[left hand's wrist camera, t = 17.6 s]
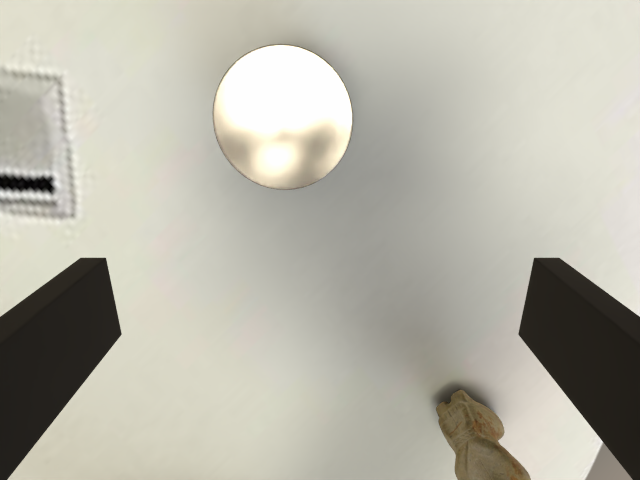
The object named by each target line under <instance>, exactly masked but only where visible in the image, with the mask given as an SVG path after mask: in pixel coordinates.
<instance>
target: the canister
mask: <svg viewBox="0 0 640 480" xmlns="http://www.w3.org/2000/svg"><path fill="white" fill-rule="evenodd" d="M213 124H214V131H215V134H216V138H217V141H218V143H219V146H220V148H221V150H222V152H223V153H224V155H225V157H226V158H227V159H228V161H229V162H230V163H231V165H232V166H233V167H234V168H235V169H236V170H237V171H238V172H239V173H241V174H242V175H243V176H244V177H246V178H248V179H249V180H251V181H253V182H255V183H257V184H259V185H262V186H265V187H268V188H273V189H280V190H290V189H298V188H303V187H306V186H309V185H311V184H313V183H315V182H317V181H319V180H321V179H322V178H324V177H325V176H327V175H328V174H329V173H330V172H331V171H332V170H333V169H334V168H335V167H336V166H337V165H338V163H339V162H340V160H341V159H342V157H343V156H344V154H345V152H346V150H347V148H348V145H349V142H350V139H351V134H352V128H353V110H352V104H351V100H350V97H349V93H348V91H347V89H346V86H345V84H344V82H343V81H342V79H341V78H340V76H339V74H338V73H337V72H336V71H335V70H334V68H333V67H332V66H331V65H330V64H329V63H328V62H327V61H325V60H324V59H323V58H321V57H320V56H319V55H317V54H315V53H313V52H311V51H309V50H307V49H304V48H302V47H298V46H294V45H287V44H275V45H267V46H263V47H260V48H257V49H255V50H252V51H250V52H248V53H247V54H245V55H243V56H242V57H241V58H239V59H238V60H237V61H236V62H235V63H234V64H233V65H232V66H231V67H230V68H229V69H228V71H227V72H226V73H225V75H224V76H223V78H222V80H221V82H220V84H219V86H218V89H217V91H216V95H215V99H214V104H213Z"/></svg>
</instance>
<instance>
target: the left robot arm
mask: <svg viewBox="0 0 640 480" xmlns="http://www.w3.org/2000/svg"><path fill="white" fill-rule="evenodd" d="M120 336H121V329H120V324H119V320H118V315H117V310H116V305H115V300H114V295H113V290H112V285H111V281H110V276H109V271H108V266H107V261H106V258H80V259H79V260H77V261H76V262H75V263H73V264H72V265H70V266H69V267H68V268H66V269H65V270H64V271H62V272H61V273H60V274H58V275H57V276H55V277H54V278H53V279H51V280H50V281H49V282H47V283H46V284H45V285H43V286H42V287H40V288H39V289H38V290H36V291H35V292H34V293H32V294H31V295H30V296H28V297H27V298H25V299H24V300H23V301H21V302H20V303H19V304H17V305H16V306H15V307H13V308H12V309H10V310H9V311H8V312H6V313H5V314H4V315H2V316H1V317H0V480H7V479H8V478H9V477H10V475H11V474H12V473H13V471H14V470H15V469H16V468H17V466H18V465H19V464H20V463H21V461H22V460H23V459H24V458H25V456H26V455H27V454H28V452H29V451H30V450H31V449H32V447H33V446H34V445H35V444H36V442H37V441H38V440H39V438H40V437H41V436H42V435H43V433H44V432H45V431H46V430H47V428H48V427H49V426H50V425H51V423H52V422H53V421H54V419H55V418H56V417H57V416H58V414H59V413H60V412H61V411H62V409H63V408H64V407H65V405H66V404H67V403H68V402H69V400H70V399H71V398H72V397H73V395H74V394H75V393H76V392H77V390H78V389H79V388H80V386H81V385H82V384H83V383H84V381H85V380H86V379H87V378H88V376H89V375H90V374H91V372H92V371H93V370H94V369H95V367H96V366H97V365H98V364H99V362H100V361H101V360H102V359H103V357H104V356H105V355H106V353H107V352H108V351H109V350H110V348H111V347H112V346H113V345H114V343H115V342H116V341H117V340H118V338H119V337H120ZM519 336H520V337H521V338H522V340H523V341H524V342H525V343H526V345H527V346H528V347H529V348H530V350H531V351H532V352H533V353H534V355H535V356H536V357H537V359H538V360H539V361H540V362H541V364H542V365H543V366H544V367H545V369H546V370H547V371H548V372H549V374H550V375H551V376H552V378H553V379H554V380H555V381H556V383H557V384H558V385H559V386H560V388H561V389H562V390H563V392H564V393H565V394H566V395H567V397H568V398H569V399H570V400H571V402H572V403H573V404H574V405H575V407H576V408H577V409H578V411H579V412H580V413H581V414H582V416H583V417H584V418H585V419H586V421H587V422H588V423H589V425H590V426H591V427H592V428H593V430H594V431H595V432H596V433H597V435H598V436H599V437H600V438H601V440H602V441H603V442H604V444H605V445H606V446H607V447H608V449H609V450H610V451H611V452H612V454H613V455H614V456H615V458H616V459H617V460H618V461H619V463H620V464H621V465H622V466H623V468H624V469H625V470H626V471H627V473H628V474H629V475H630V476H631V478H632V479H633V480H640V317H639V316H638V315H636V314H635V313H634V312H632V311H631V310H630V309H628V308H627V307H625V306H624V305H623V304H621V303H620V302H619V301H617V300H616V299H615V298H613V297H612V296H610V295H609V294H608V293H606V292H605V291H604V290H602V289H601V288H600V287H598V286H597V285H595V284H594V283H593V282H591V281H590V280H589V279H587V278H586V277H585V276H583V275H582V274H580V273H579V272H578V271H576V270H575V269H574V268H572V267H571V266H570V265H568V264H567V263H565V262H564V261H563V260H561V259H560V258H534V261H533V266H532V271H531V276H530V281H529V285H528V290H527V295H526V300H525V305H524V310H523V315H522V320H521V324H520V329H519Z"/></svg>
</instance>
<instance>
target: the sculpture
mask: <svg viewBox="0 0 640 480" xmlns="http://www.w3.org/2000/svg"><path fill="white" fill-rule="evenodd" d="M436 411H437V413H438V416H439V425H440V428H441V430H442V432H443V434H444V436H445V438H446V440H447V442H448V443H449V445H450V446H451V448H452V449H453V450H454V452H455V454H456V461H455V474H456V477H457V479H458V480H531V479H530V476H529V474H528V472H527V471H526V470H525V468H524V467H523V466H522V465H521V464H520V463H519V462H518V461H517V460H516V459H515V458H514V457H513V456H512V455H511V454H510V453H509V452H508V451H507V450H506V449H505V448H503V447H502V446H501V445H500V444H499V442H498V440H499V439H501V438H502V436H503V435H504V427H503V425H502V422H501V420H500V419H499V417H498V416H497V415H496V414H495V413H494V412H493V411H492V410H490V409H489V408H487V407H486V406H484V405H482V404H480V403H478V402H476V401H474V400H473V399H471V398H470V397H469V396H468V395H467V394H466V392H465V391H463V390H458V391H457V392H455V393H454V394H452V396H451V402H450V403H448V402H445V401H444V402H442V403H440V404H439V405H438V406H437V408H436Z"/></svg>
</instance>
